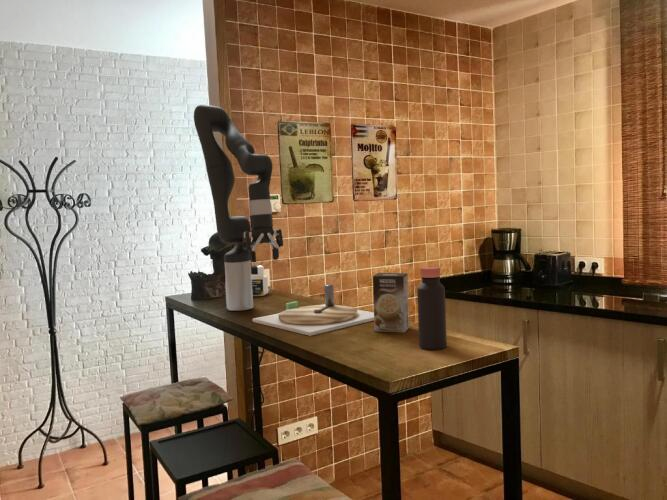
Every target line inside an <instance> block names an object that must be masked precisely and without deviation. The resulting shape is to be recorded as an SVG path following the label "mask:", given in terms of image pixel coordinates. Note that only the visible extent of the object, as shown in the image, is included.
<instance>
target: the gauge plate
mask: <svg viewBox="0 0 667 500" xmlns="http://www.w3.org/2000/svg"><path fill="white" fill-rule="evenodd" d="M321 305H325V303H323V304H321ZM298 306H299V303H298V301H296V300H295V301H292V302H291V301H290V302H286V303H285V310H288V309H292V308H297V307H298ZM279 313H280V312H279ZM279 313H274V314H269V315H264V316H263V315H262V316H259V317H254V318H252V322H253V323H256V324H260V325H265V326H269V327H272V328H277V329H281V330H286V331H289V332H293V333H297V334H301V335H306V336H308V337H311V336H314V335H320V334H324V333H328V332H331V331H336V330H340V329H344V328H349V327H353V326H357V325H361V324H364V323H369V322H372V321H374V311H366V310H362V309H357V316H356V317H354V318H352V319H349V320H345V321H341V322H335V323H327V324H291V323H286V322H282V321H280V320H279V316H278V315H279Z"/></svg>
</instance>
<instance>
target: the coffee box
mask: <svg viewBox="0 0 667 500" xmlns="http://www.w3.org/2000/svg"><path fill="white" fill-rule="evenodd" d="M408 276H409V275H408V273H407V272H377V273H375V274H374V275H373V276H372V287H373V288H372V289H373V293H372V294H373V295H372V296H373V312H374V320H373V321H374V323H373V324H374V325H373V326H374V327H373V328H374V329H373V330H374V332H382V333H384V332H385V333H406V332H407V330H409V328H410V322H409V321H410V320H409V319H410V318H409V285H408V281H409V277H408Z"/></svg>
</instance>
